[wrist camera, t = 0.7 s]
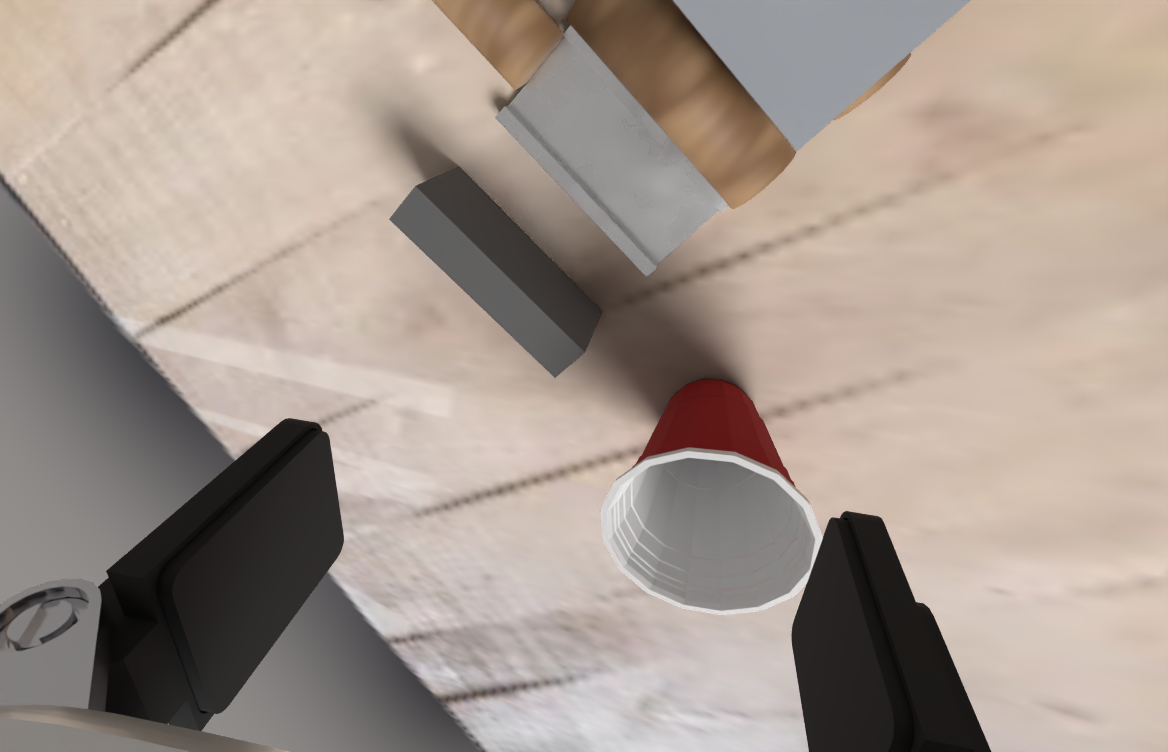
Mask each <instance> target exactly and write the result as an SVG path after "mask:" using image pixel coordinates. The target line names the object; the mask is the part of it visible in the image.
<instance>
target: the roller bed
mask: <svg viewBox="0 0 1168 752" xmlns="http://www.w3.org/2000/svg"><path fill="white" fill-rule="evenodd" d="M567 21H568V23H569V24H570V25H571V26H572V27H573V28H574V30H575V31H576V32H577V33H578V34H579V35H580V36H581V38H582V39H583V40H584V41H585V42H586V43H587V44H588V46H589V47H590V48H591V49H592V50H593V51H594V52H595V54H596V55H597V56H598V57H599V58H600V59H601V60H602V62H603V63H604V64H605V65H606V66H607V67H608V68H609V70H610V71H611V72H612V73H613V74H614V75H615V76H616V78H617V79H618V80H619V81H620V82H621V83H622V84H623V85H624V87H625V88H626V89H627V90H628V91H629V92H630V93H631V95H632V96H633V97H634V98H635V99H636V100H637V101H638V103H639V104H640V105H641V106H642V107H643V108H644V109H645V111H646V112H647V113H648V114H649V115H650V116H651V117H652V119H653V120H654V121H655V122H656V123H657V124H658V125H659V127H660V128H661V129H662V130H663V131H664V132H665V133H666V135H667V136H668V137H669V138H670V139H671V140H672V141H673V143H674V144H675V145H676V146H677V147H678V148H679V149H680V151H681V152H682V153H683V154H684V155H685V156H686V157H687V159H688V160H689V161H690V162H691V163H692V164H693V165H694V166H695V168H696V169H697V170H698V171H699V172H700V173H701V174H702V176H703V177H704V178H705V179H706V180H707V181H708V182H709V184H710V185H711V186H712V187H713V188H714V189H715V190H716V192H717V193H718V194H719V195H720V196H721V197H722V198H723V200H724V201H725V202H726V203H727V204H728V205H729V206H730V208H732V209H734V208H737V207H739V206H741V205H743V204H744V203H746V202H747V201H749V200H750V199H752V198H753V197H754V196H756V195H757V194H758V193H759V192H761V191H762V190H763V189H764V188H765V187H766V186H768V185H769V184H770V183H771V182H772V181H773V180H774V179H775V178H776V177H777V176H778V175H779V174H780V173H781V172H782V171H783V170H784V169H785V168H786V167H787V166H788V164H789V163H790V162H791V161H792V159H793V158H794V156H795V154H796V151H795V150H794V148H793V147H792V146H791V145H790V144H789V142H788V141H787V140H786V139H785V138H784V136H783V135H782V134H781V133H780V131H779V130H778V129H777V128H776V127H775V125H774V124H773V123H772V122H771V121H770V119H769V118H768V117H767V116H766V114H765V113H764V112H763V111H762V110H761V108H760V107H759V106H758V105H757V104H756V102H755V101H754V100H753V99H752V97H751V96H750V95H749V94H748V93H747V91H746V90H745V89H744V88H743V87H742V85H741V84H740V83H739V82H738V80H737V79H736V78H735V77H734V76H733V74H732V73H731V72H730V71H729V70H728V68H727V67H726V66H725V65H724V63H723V62H722V61H721V60H720V59H719V57H718V56H717V55H716V54H715V53H714V51H713V50H712V49H711V48H710V46H709V45H708V44H707V43H706V42H705V40H704V39H703V38H702V37H701V36H700V34H699V33H698V32H697V31H696V29H695V28H694V27H693V26H692V25H691V23H690V22H689V21H688V20H687V18H686V17H685V16H684V15H683V14H682V12H681V11H680V10H679V9H678V8H677V6H676V5H675V4H674V3H673V1H672V0H577V1H576V2H575V4H574V5H573V7H572V9H571V11H570V13H569V15H568V18H567ZM910 56H911V53H909V54H908V55H907V56H906V57H905V58H904V59H902V60H901V61H900V62H899V63H898V64H897V65H896V66H894V67H893V68H892V69H891V70H890V71H889V72H887V73H886V74H885V75H884V76H883V77H882V78H881V79H879V80H878V81H877V82H876V83H875V84H874V85H873V86H871V87H870V88H869V89H868V90H867V91H866V92H864V93H863V94H862V95H861V96H860V97H859V98H858V99H856V100H855V101H854V102H853V103H852V104H851V105H850V106H848V107H847V108H846V109H845V110H844V111H843V112H841V113H840V114H839V115H838V116H837V117H836V118H835V119H833V120H836V119H838V118H840V117H842V116H844V115H846V114H847V113H849V112H850V111H852V110H853V109H855V108H856V107H858V106H859V105H860V104H862V103H863V102H864V101H866V100H867V99H868V98H869V97H871V96H872V95H873V94H874V93H876V92H877V91H878V90H879V89H880V88H881V87H883V86H884V85H885V84H886V83H887V82H888V81H889V80H890V79H891V78H892V77H893V76H894V75H895V74H896V73H897V72H898V71H899V70H900V69H901V68H902V67H903V66H904V65H905V63H906V62H907V61H908V59H909V58H910Z"/></svg>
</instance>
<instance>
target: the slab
mask: <svg viewBox="0 0 1168 752" xmlns="http://www.w3.org/2000/svg"><path fill="white" fill-rule="evenodd" d="M672 1H673V2H674V3H675V5H676V6H677V7H678V8H679V9H680V11H681V12H682V13H683V14H684V15H685V17H686V18H687V19H688V20H689V22H690V23H691V24H692V25H693V26H694V28H695V29H696V30H697V31H698V32H699V34H700V35H701V36H702V37H703V39H704V40H705V41H706V42H707V43H708V45H709V46H710V47H711V48H712V50H713V51H714V52H715V53H716V54H717V56H718V57H719V58H720V59H721V60H722V62H723V63H724V64H725V65H726V67H727V68H728V69H729V70H730V71H731V73H732V74H733V75H734V76H735V77H736V79H737V80H738V81H739V82H740V84H741V85H742V86H743V87H744V88H745V90H746V91H747V92H748V93H749V94H750V96H751V97H752V98H753V99H754V101H755V102H756V103H757V104H758V105H759V107H760V108H761V109H762V110H763V111H764V113H765V114H766V115H767V116H768V118H769V119H770V120H771V121H772V122H773V124H774V125H775V126H776V127H777V128H778V130H779V131H780V132H781V133H782V135H783V136H784V137H785V138H786V139H787V141H788V142H789V143H790V144H791V145H792V146H793V147H794V148H795V149H796V151H798V150H799V149H800V148H801V147H802V146H803V145H805V144H806V143H807V142H808V141H809V140H810V139H812V138H813V137H814V136H815V135H816V134H817V133H818V132H820V131H821V130H822V129H823V128H824V127H825V126H826V125H828V124H829V123H830V122H831V121H832V120H833V119H835V118H836V117H837V116H838V115H839V114H840V113H841V112H843V111H844V110H845V109H846V108H847V107H848V106H850V105H851V104H852V103H853V102H854V101H855V100H856V99H858V98H859V97H860V96H861V95H862V94H863V93H864V92H866V91H867V90H868V89H869V88H870V87H871V86H873V85H874V84H875V83H876V82H877V81H878V80H879V79H881V78H882V77H883V76H884V75H885V74H886V73H887V72H889V71H890V70H891V69H892V68H893V67H894V66H896V65H897V64H898V63H899V62H900V61H901V60H902V59H904V58H905V57H906V56H907V55H908V54H909V53H910V52H912V51H913V50H914V49H915V48H916V47H917V46H919V45H920V44H921V43H922V42H923V41H924V40H925V39H927V38H928V37H929V36H930V35H931V34H932V33H933V32H935V31H936V30H937V29H938V28H939V27H940V26H942V25H943V24H944V23H945V22H946V21H947V20H948V19H950V18H951V17H952V16H953V15H954V14H955V13H957V12H958V11H959V10H960V9H961V8H962V7H963V6H965V5H966V4H967V3H968V2H969V1H970V0H672Z"/></svg>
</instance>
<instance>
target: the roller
mask: <svg viewBox="0 0 1168 752" xmlns="http://www.w3.org/2000/svg"><path fill="white" fill-rule="evenodd" d="M432 1H433V2H434V3H435V4H436V5H437V6H438V8H439V9H440V10H441V11H442V12H443V13H444V14H445V15H446V16H447V17H448V18H449V19H450V20H451V22H452V23H453V24H454V25H455V26H456V27H457V28H458V29H459V30H460V31H461V32H462V33H463V34H464V36H465V37H466V38H467V39H468V40H469V41H470V42H471V43H472V44H473V45H474V46H475V47H476V48H477V50H478V51H479V52H480V53H481V54H482V55H483V56H484V57H485V58H486V59H487V60H488V61H489V63H490V64H491V65H492V66H493V67H494V68H495V69H496V70H497V71H498V72H499V73H500V74H501V75H502V77H503V78H504V79H505V80H506V81H507V82H508V83H509V84H510V85H511V86H512V87H513V88H514V89H518V88H520V87H522V86H523V85H524V84H525V83H527V82H528V81H529V80H530V79H531V77H532V76H533V75H534V74H535V73H536V71H537V70H538V69H539V68H540V66H541V65H542V64H543V63H544V62H545V60H546V59H547V58H548V57H549V56H550V54H551V53H552V52H553V51H554V49H555V48H556V47H557V46H558V45H559V43H560V42H561V41H562V38H563V34H564V33H563V31H562V30H561V29H560V28H559V27H558V26H557V25H556V23H555V22H554V21H553V20H552V19H551V18H550V17H549V16H548V14H547V13H546V12H545V11H544V10H543V9H542V8H541V6H540V5H539V4H538V3H537V2H536V1H535V0H432Z"/></svg>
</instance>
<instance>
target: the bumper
mask: <svg viewBox="0 0 1168 752" xmlns="http://www.w3.org/2000/svg"><path fill="white" fill-rule="evenodd" d="M389 220H391V221H392V222H393V223H394V224H395V225H396V226H397V227H398V228H399V229H400V230H401V231H402V232H403V233H404V234H405V235H406V236H407V237H408V238H409V239H410V240H411V241H412V242H414V243H415V244H416V245H417V246H418V247H419V248H420V249H421V250H422V251H423V252H424V253H425V254H426V255H427V256H428V257H429V258H430V259H431V260H432V261H433V262H434V263H435V264H437V265H438V266H439V267H440V268H441V269H442V270H443V271H444V272H445V273H446V274H447V275H448V276H449V277H450V278H451V279H452V280H453V281H454V282H455V283H456V284H457V285H458V286H460V287H461V288H462V289H463V290H464V291H465V292H466V293H467V294H468V295H469V296H470V297H471V298H472V299H473V300H474V301H475V302H476V303H477V304H478V305H479V306H480V307H482V308H483V309H484V310H485V311H486V312H487V313H488V314H489V315H490V316H491V317H492V318H493V319H494V320H495V321H496V322H497V323H498V324H499V325H500V326H501V327H502V328H503V329H505V330H506V331H507V332H508V333H509V334H510V335H511V336H512V337H513V338H514V339H515V340H516V341H517V342H518V343H519V344H520V345H521V346H522V347H523V348H524V349H525V350H526V351H528V352H529V353H530V354H531V355H532V356H533V357H534V358H535V359H536V360H537V361H538V362H539V363H540V364H541V365H542V366H543V367H544V368H545V369H546V370H547V371H548V372H550V373H551V374H552V375H553V376H554V377H557V376H558V375H559V374H560V373H561V372H562V371H564V370H565V369H566V368H567V367H568V366H569V365H571V364H572V363H573V362H574V361H575V360H577V359H578V358H579V357H580V356H581V355H582V354H584V353H585V351H586V348H587V346H588V344H589V341H590V339H591V337H592V334H593V332H594V330H595V327H596V325H597V323H598V320H599V318H600V316H601V313H602V311H601V310H600V309H599V308H598V307H597V306H596V305H595V304H594V303H593V302H592V301H591V300H590V299H589V298H588V297H587V296H586V295H585V294H584V293H583V292H582V291H581V290H580V289H579V288H578V287H577V285H576V284H575V283H574V282H573V281H572V280H571V279H570V278H569V277H568V276H567V275H566V274H565V273H564V272H563V271H562V270H561V269H560V268H559V267H558V266H557V265H556V264H555V263H554V262H553V261H552V260H551V259H550V258H549V257H548V256H547V255H546V254H545V253H544V252H543V251H542V250H541V249H540V248H539V247H538V246H537V245H536V244H535V243H534V242H533V241H532V240H531V239H530V238H529V237H528V236H527V235H526V234H525V233H524V232H523V231H522V230H521V229H520V228H519V227H518V226H517V225H516V224H515V223H514V222H513V221H512V220H511V219H510V218H509V217H508V216H507V215H506V214H505V213H504V212H503V211H502V210H501V209H500V208H499V206H498V205H497V204H496V203H495V202H494V201H493V200H492V199H491V198H490V197H489V196H488V195H487V194H486V193H485V192H484V191H483V190H482V189H481V188H480V187H479V186H478V185H477V184H476V183H475V182H474V181H473V180H472V179H471V178H470V177H469V176H468V175H467V174H466V173H465V172H464V171H463V170H462V169H461V168H460V167H458V168H455V169H453V170H451V171H449V172H446V173H444V174H442V175H439V176H437V177H435V178H433V179H430V180H428V181H426V182H424V183H421V184H419V185H417V186H415V187H414V188H413V190H412V191H411V192H410V194H409V195H408V196H407V197H406V199H405V200H404V201H403V202H402V204H401V205H400V206H399V207H398V209H397V210H396V211H395V212H394V214H393V215H392V216H391V217H390V219H389Z"/></svg>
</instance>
